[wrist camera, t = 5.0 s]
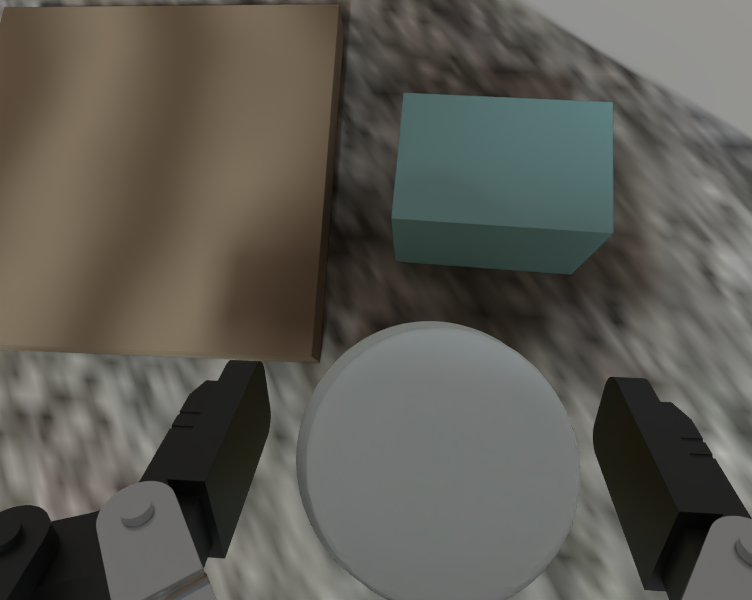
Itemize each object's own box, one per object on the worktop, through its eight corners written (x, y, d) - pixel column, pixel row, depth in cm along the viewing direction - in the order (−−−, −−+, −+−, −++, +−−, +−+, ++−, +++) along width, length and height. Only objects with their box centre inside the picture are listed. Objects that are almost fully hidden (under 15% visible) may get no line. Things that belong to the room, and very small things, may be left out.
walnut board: (-44, 347, 19) (-83, 340, 17) (31, 35, 22) (4, 7, 20) (319, 362, 18) (311, 356, 16) (344, 34, 21) (338, 4, 19)
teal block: (395, 262, 19) (391, 218, 15) (405, 160, 19) (403, 92, 16) (569, 275, 18) (613, 233, 14) (571, 169, 19) (612, 102, 15)
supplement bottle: (344, 542, 16) (255, 689, 7) (333, 369, 18) (246, 299, 8) (519, 528, 16) (669, 662, 7) (494, 354, 17) (592, 265, 8)
